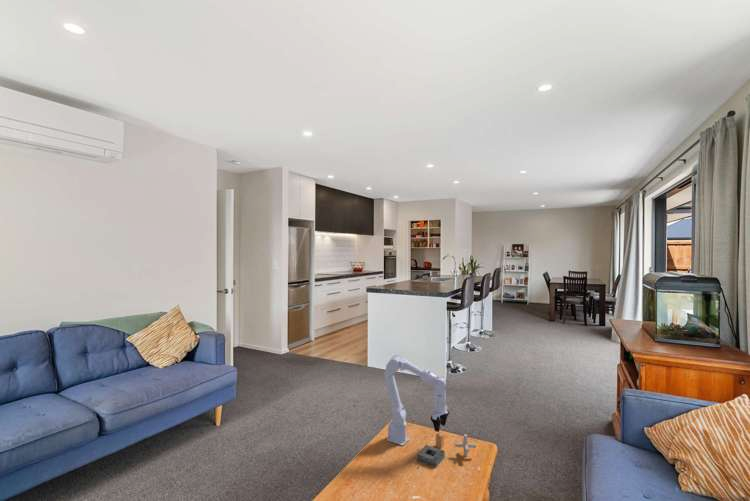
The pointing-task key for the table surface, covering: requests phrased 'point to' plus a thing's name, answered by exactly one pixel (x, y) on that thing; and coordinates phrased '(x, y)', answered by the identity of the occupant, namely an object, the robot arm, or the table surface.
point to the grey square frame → (431, 455)
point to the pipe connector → (465, 445)
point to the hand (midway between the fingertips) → (440, 428)
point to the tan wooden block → (439, 440)
